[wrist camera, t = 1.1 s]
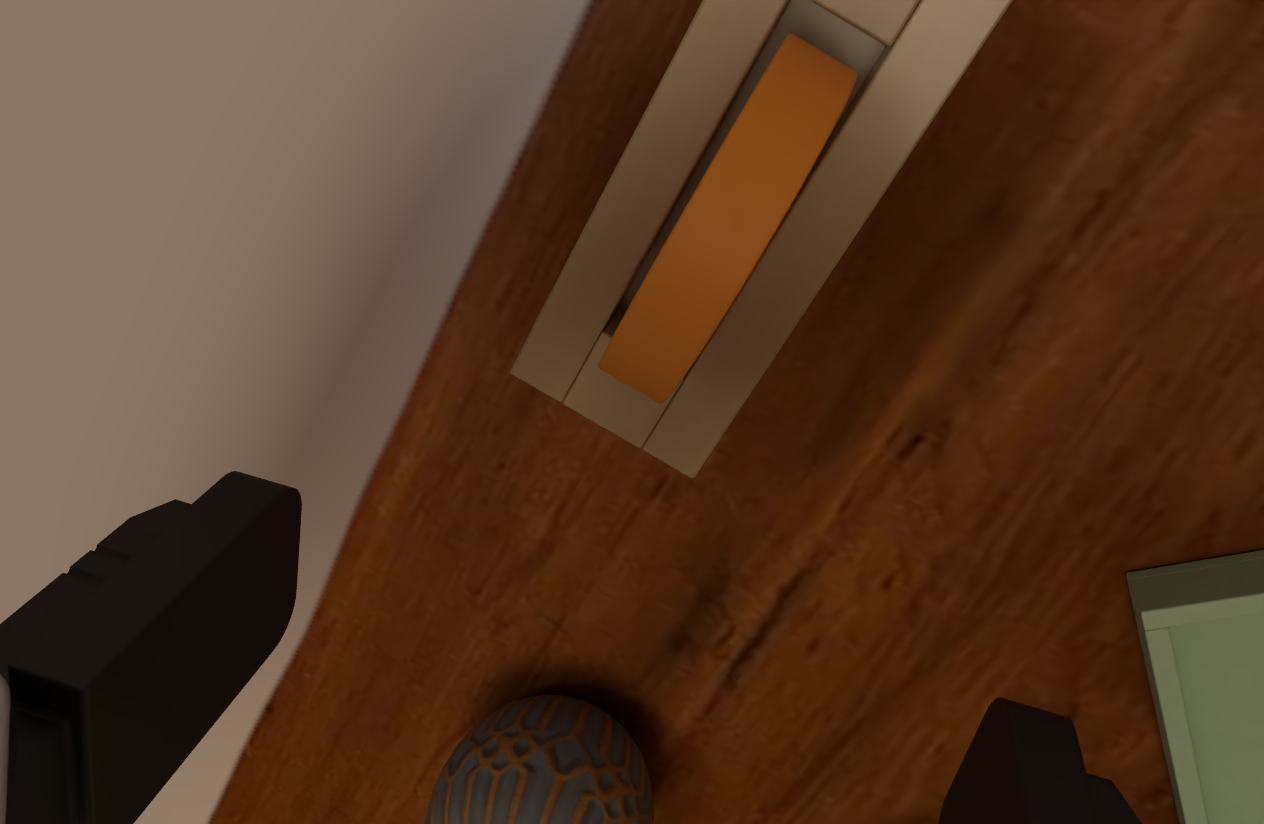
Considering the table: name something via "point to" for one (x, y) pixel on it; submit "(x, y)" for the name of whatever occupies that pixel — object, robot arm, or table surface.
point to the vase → (544, 769)
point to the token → (729, 218)
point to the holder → (807, 236)
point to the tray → (1207, 681)
